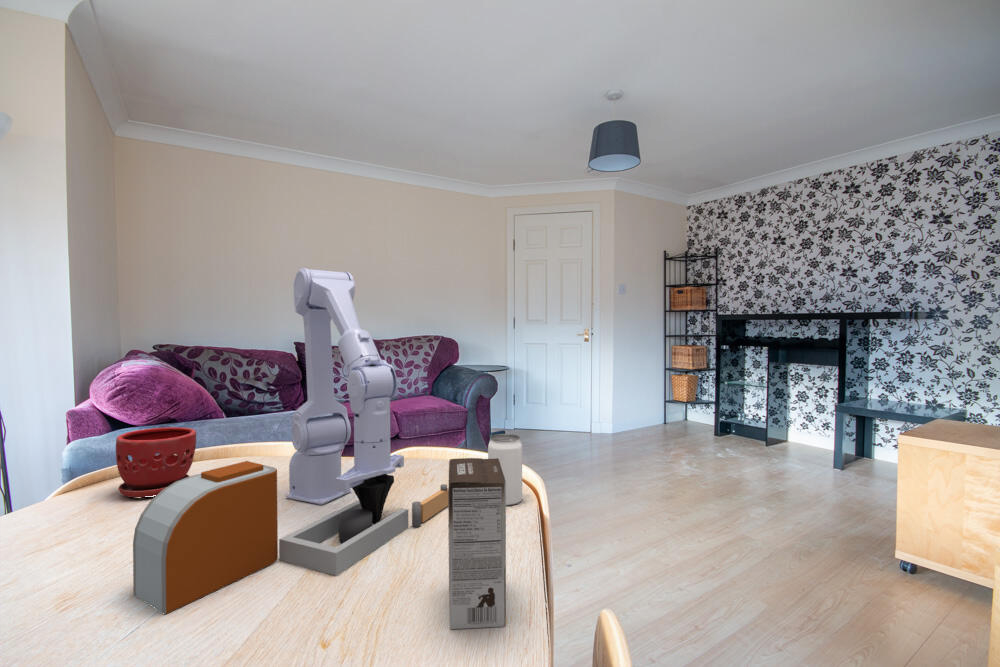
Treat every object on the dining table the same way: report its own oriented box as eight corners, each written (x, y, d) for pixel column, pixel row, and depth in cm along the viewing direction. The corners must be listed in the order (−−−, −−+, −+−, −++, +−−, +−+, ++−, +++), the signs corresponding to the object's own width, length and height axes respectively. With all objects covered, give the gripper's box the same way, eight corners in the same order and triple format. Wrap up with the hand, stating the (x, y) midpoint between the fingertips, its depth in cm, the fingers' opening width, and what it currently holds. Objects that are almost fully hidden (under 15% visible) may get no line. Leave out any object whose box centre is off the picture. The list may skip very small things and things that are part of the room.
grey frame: (279, 560, 65) (279, 537, 65) (364, 514, 81) (364, 496, 81) (336, 575, 61) (336, 551, 61) (413, 524, 77) (413, 504, 77)
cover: (443, 503, 85) (443, 483, 85) (450, 504, 85) (449, 484, 85) (410, 525, 76) (410, 502, 76) (417, 527, 75) (417, 504, 75)
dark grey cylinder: (331, 541, 71) (331, 518, 71) (355, 528, 75) (354, 507, 75) (356, 547, 68) (356, 524, 68) (379, 534, 73) (379, 512, 73)
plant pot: (115, 508, 84) (114, 443, 84) (117, 489, 94) (116, 431, 94) (200, 492, 92) (199, 433, 92) (193, 476, 103) (192, 423, 103)
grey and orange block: (249, 545, 69) (248, 455, 69) (284, 559, 65) (283, 463, 65) (131, 594, 57) (130, 484, 57) (165, 615, 52) (164, 496, 52)
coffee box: (449, 584, 58) (449, 457, 58) (500, 582, 59) (499, 456, 59) (447, 631, 49) (446, 481, 49) (507, 627, 50) (506, 479, 50)
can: (519, 507, 84) (519, 441, 84) (484, 505, 85) (484, 440, 85) (524, 495, 90) (524, 434, 90) (492, 493, 91) (492, 432, 91)
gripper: (361, 452, 67) (362, 545, 67) (418, 432, 80) (418, 509, 80) (324, 447, 70) (325, 536, 70) (385, 428, 83) (385, 503, 83)
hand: (372, 522), depth 75 cm, fingers closed
